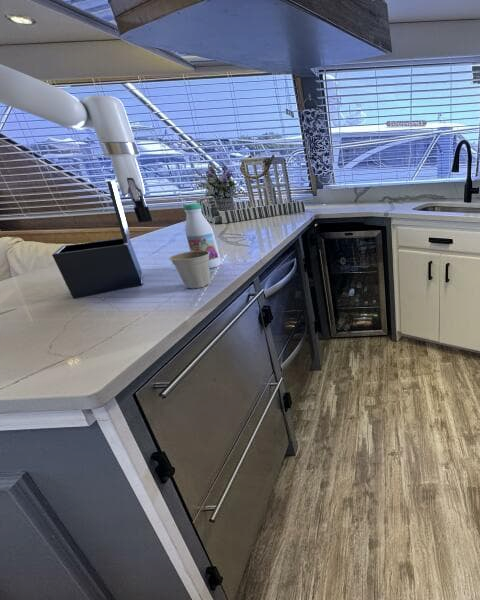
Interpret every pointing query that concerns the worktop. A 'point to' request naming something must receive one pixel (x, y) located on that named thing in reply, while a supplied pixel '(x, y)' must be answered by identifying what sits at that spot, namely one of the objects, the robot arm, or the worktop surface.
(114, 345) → the worktop surface
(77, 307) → the worktop surface
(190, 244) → the milk bottle
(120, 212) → the bin lid
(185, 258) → the flower pot
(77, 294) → the bin
